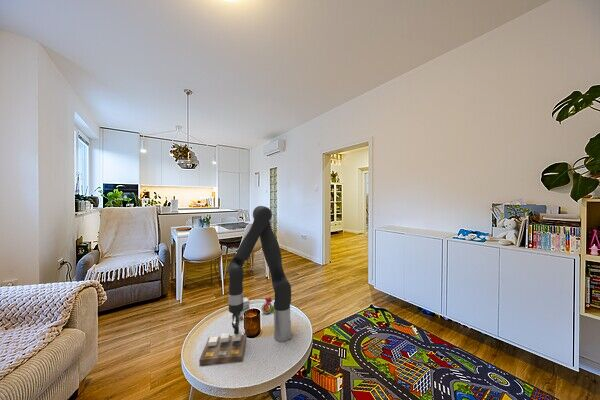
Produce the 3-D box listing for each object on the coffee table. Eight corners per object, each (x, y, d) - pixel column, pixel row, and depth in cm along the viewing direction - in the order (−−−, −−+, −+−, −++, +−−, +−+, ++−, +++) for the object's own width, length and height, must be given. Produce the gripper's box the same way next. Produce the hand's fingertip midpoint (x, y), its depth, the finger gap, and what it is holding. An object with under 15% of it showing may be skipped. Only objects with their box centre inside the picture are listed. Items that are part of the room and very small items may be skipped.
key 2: (241, 335, 121) (241, 331, 121) (240, 340, 117) (240, 336, 117) (233, 336, 120) (233, 332, 120) (232, 341, 116) (232, 337, 116)
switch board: (246, 339, 125) (246, 333, 125) (242, 361, 110) (242, 355, 109) (208, 343, 123) (208, 337, 123) (199, 366, 107) (199, 359, 107)
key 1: (218, 340, 120) (218, 336, 119) (216, 345, 116) (216, 341, 115) (210, 340, 119) (210, 337, 119) (208, 346, 115) (208, 342, 115)
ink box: (237, 322, 142) (236, 303, 142) (234, 318, 146) (234, 300, 146) (250, 317, 147) (249, 299, 146) (247, 314, 151) (246, 296, 150)
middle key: (229, 336, 120) (229, 332, 120) (228, 341, 116) (228, 337, 116) (222, 337, 120) (222, 333, 120) (220, 342, 116) (220, 338, 116)
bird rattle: (267, 319, 148) (278, 310, 152) (260, 306, 145) (272, 297, 149) (264, 315, 153) (275, 306, 157) (257, 302, 151) (268, 293, 155)
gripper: (241, 307, 112) (242, 341, 112) (244, 294, 125) (245, 325, 126) (226, 308, 111) (226, 342, 112) (230, 295, 124) (231, 326, 125)
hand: (236, 333), depth 119 cm, fingers closed
